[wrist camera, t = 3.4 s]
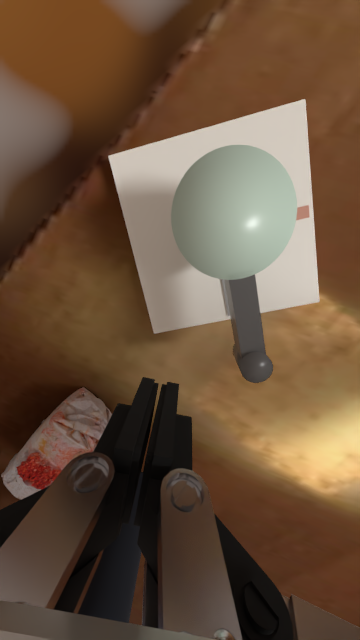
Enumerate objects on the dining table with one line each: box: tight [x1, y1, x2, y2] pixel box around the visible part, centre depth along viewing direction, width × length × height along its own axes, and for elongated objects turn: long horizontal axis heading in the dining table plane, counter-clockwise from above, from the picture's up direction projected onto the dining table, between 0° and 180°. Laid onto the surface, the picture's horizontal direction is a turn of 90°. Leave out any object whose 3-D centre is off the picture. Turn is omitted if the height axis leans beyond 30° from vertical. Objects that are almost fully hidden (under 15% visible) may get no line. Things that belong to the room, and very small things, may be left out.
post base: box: [108, 99, 319, 334], centre depth 25 cm, size 20×20×2 cm
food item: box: [1, 387, 112, 500], centre depth 29 cm, size 14×8×10 cm, turn 139°
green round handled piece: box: [171, 145, 297, 383], centre depth 19 cm, size 18×9×4 cm, turn 12°
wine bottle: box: [78, 472, 143, 623], centre depth 22 cm, size 6×6×30 cm
